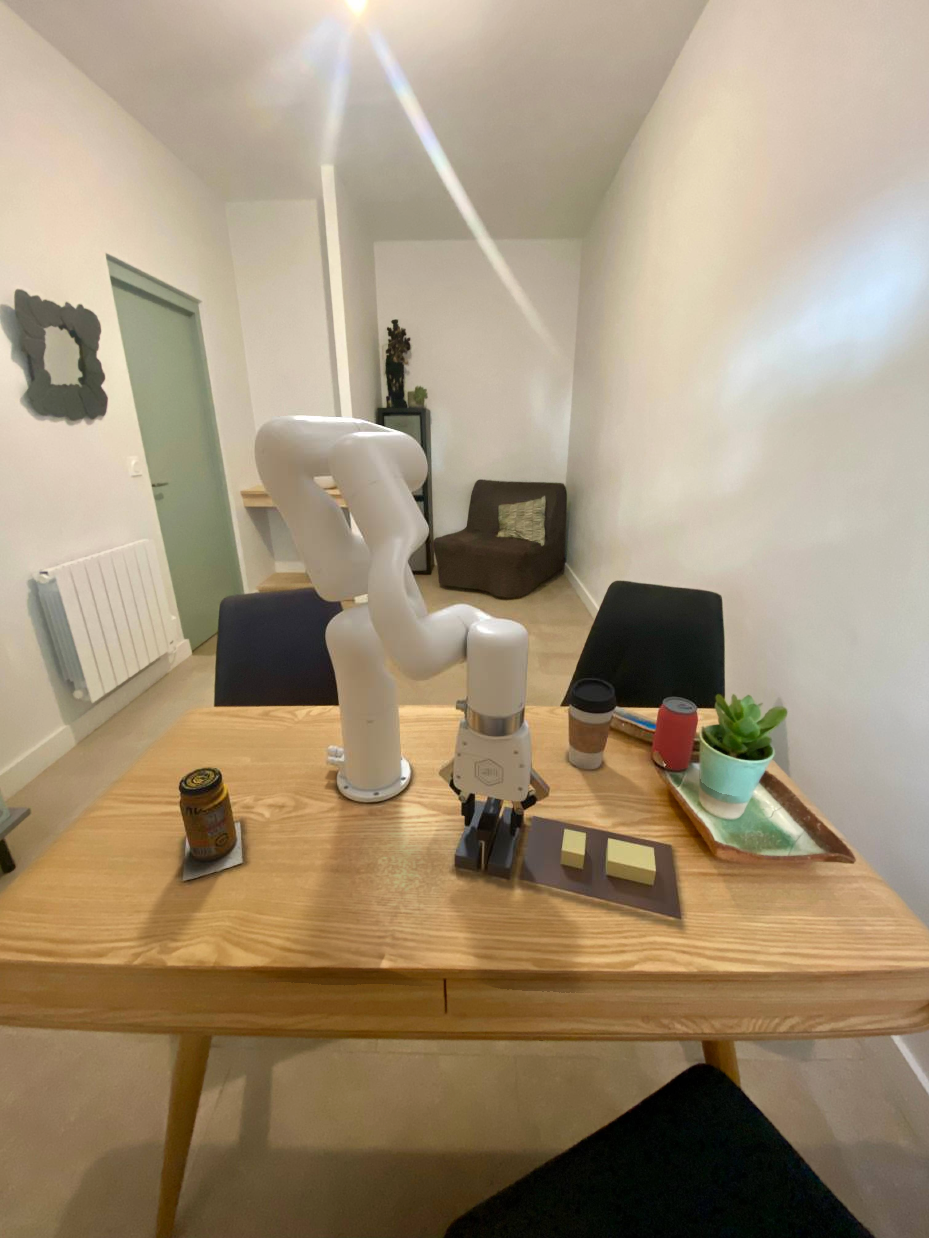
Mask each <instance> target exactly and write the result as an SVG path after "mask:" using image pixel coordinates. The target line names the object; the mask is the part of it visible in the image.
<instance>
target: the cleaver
mask: <svg viewBox="0 0 929 1238" xmlns="http://www.w3.org/2000/svg"><path fill="white" fill-rule="evenodd" d="M485 802H486V803H485V806H484V809H483V812H482V814H481V817H480V820H479V823H478V826H477V829H476V839H477V840H481V841H482V854H481V871H484V870H485V868H486V865H487V862H488V859H489V858H488V857H489V855H490V852H491V849H492V848H491V847H492V846H493V842H494V839H495V838H494V837H495V836H496V832H497V829H498V826H499V823H500V819H501V818H500V817H501V810H502V807H503V804H504V802H505V800H502V799H497V798H492V797H486V800H485Z"/></svg>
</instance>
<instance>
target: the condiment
mask: <svg viewBox="0 0 929 1238" xmlns="http://www.w3.org/2000/svg"><path fill="white" fill-rule="evenodd" d="M178 791H179V796H180V799H179V801H178V803H179V804H178V805H179V810H180V814H181V818H182V822H183V827H184V830H185V835H186V837H185V848H184V859H183V872H182V882H184V881H188V880H193V879H196V878H200V877H202V876H203V877H204V876H207V875H210V874H213V873H216V872H217V873H218V872H220V871H222V870H225V869H228V868H232V867H234V866H238V865H240V864H243V861H244V860H243V847H242V831H241V821H238V822H235V820H234V813H233V809H232V804H231V800H230V794H229V789H228V787H227V785H226V784H225V782H224V779H223V774H222V772H221V770H219V769H218V768H217V767H206V766H205V767H201V768H196V769H194V770H192V771H190V772H188V773H187V774H186V775H185V776H183V777H182V778H181V780H180V781H179V783H178Z"/></svg>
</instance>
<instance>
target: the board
mask: <svg viewBox="0 0 929 1238" xmlns="http://www.w3.org/2000/svg"><path fill="white" fill-rule="evenodd" d="M564 829H568V830H573V831H577V832H582V833H586V841H585V855H584V863H583V869H580V868H576V867H572V866H567V865H563V864H560V863H561V853H562V844H563V837H564ZM608 838H610V839H615V840H619V841H624V842H628V843H633V844H638V845H642V846H647V847H652V848H654V856H655V867H656V874H655V879H654V884H653V885H649V884H644V883H640V882H636V881H632V880H627V879H623V878H619V877H615V876H610V875H606V849H607V842H608ZM520 869H521V870H520V873H519V880H520V881H525V882H527V883H528V882H529V883H532V884H536V885H541V886H545V887H549V888H554V889H556V890H561V891H565V892H570V893H573V894H577V895H581V896H585V897H589V898H594V899H597V900H602V901H605V902H609V903H613V904H618V905H622V906H625V907H629V908H634V909H638V910H641V911H646V912H649V913H654V914H657V915H662V916H665V917H666V916H667V917H670V918H675V919H678V920H682V912H681V904H680V897H679V891H678V883H677V877H676V870H675V862H674V855H673V848H672V844H669V843H663V842H659V841H655V840H649V839H646V838H641V837H635V836H631V835H626V834H623V833H622V834H621V833H616V832H612V831H607V830H604V829H603V830H602V829H599V828H598V829H597V828H593V827H589V826H584V825H578V824H573V823H570V822H566V821H560V820H556V819H550V818H546V817H541V816H536V815H533V816H532V818H531V822H530V829H529V832H528V837H527V841H526V847H525V851H524V855H523V860H522V864H521V868H520Z"/></svg>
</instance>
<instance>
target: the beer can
mask: <svg viewBox="0 0 929 1238" xmlns="http://www.w3.org/2000/svg"><path fill="white" fill-rule="evenodd" d="M698 724H699V716H698V707H697V705H696V704H695V703H694V702H692V701H691V700H689V699H687V698H684V697H678V696H670V697H666V698H664V699H663V700H662V704H661V705H660V706H659V708H658V711H657V716H656V723H655V729H654V732H653V740H652V745H651V752H650V758H651V759H652V761H653V762H654V758H653V752H654V751H655V750H656V751H658V753H659V755H661V757H662V759H663V761H664V763H665V764H666V766H665V768H664V770H667V771H673V772H679V771H680V772H681V771H684V770H685V769H688V768H689V765H690V762H691V758H692V753H693V748H694V742H695V738H696V734H697V728H698Z"/></svg>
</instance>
